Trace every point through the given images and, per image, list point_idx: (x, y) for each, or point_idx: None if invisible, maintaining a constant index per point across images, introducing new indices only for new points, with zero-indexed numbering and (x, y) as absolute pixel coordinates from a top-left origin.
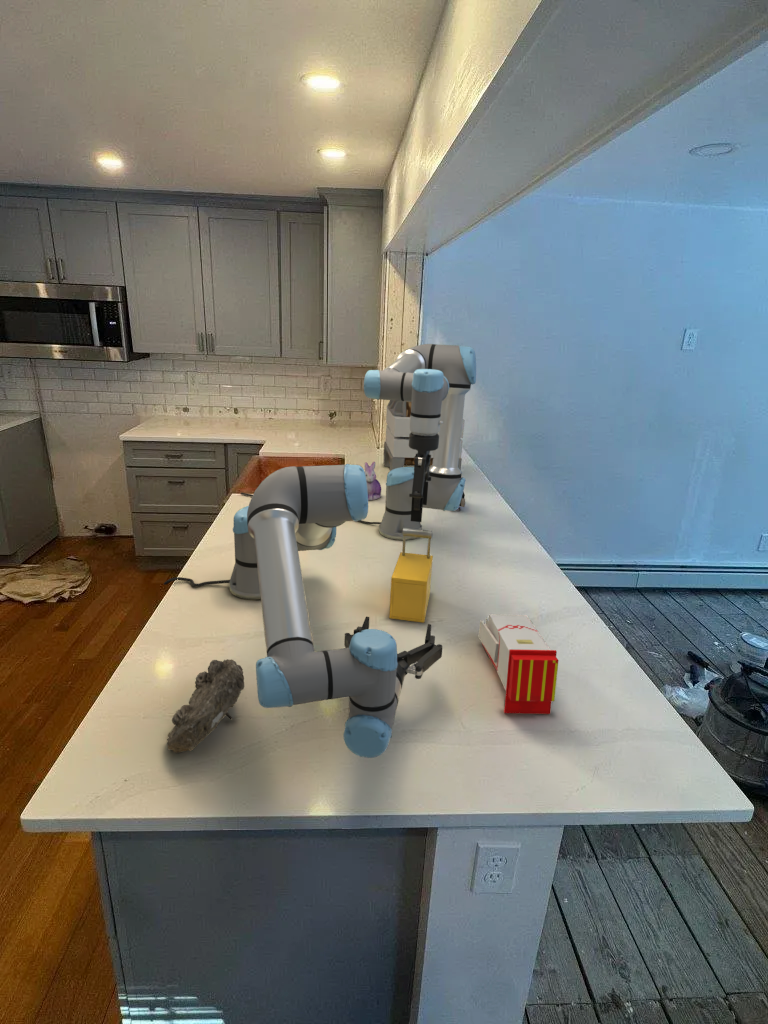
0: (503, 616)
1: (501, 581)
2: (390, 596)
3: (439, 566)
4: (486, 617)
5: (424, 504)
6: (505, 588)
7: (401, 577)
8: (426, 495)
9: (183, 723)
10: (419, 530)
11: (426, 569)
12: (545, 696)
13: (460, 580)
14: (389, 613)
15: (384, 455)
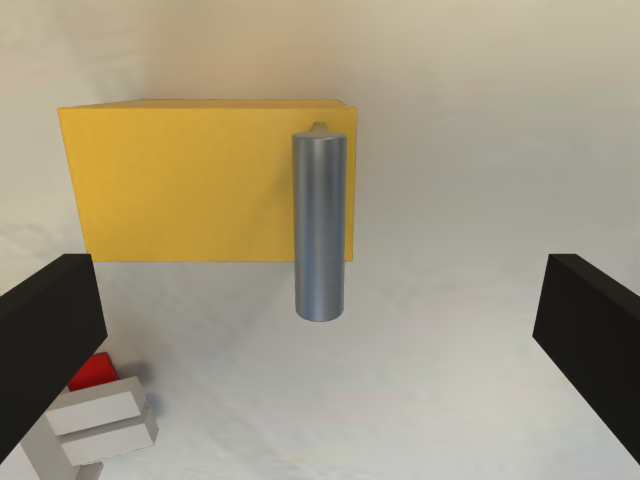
0: (16, 467)
1: (463, 396)
2: (104, 103)
3: (553, 222)
4: (127, 391)
5: (536, 322)
6: (421, 404)
7: (77, 154)
8: (587, 393)
9: None
10: (308, 249)
11: (199, 248)
12: None
13: (452, 292)
14: (135, 100)
15: None
